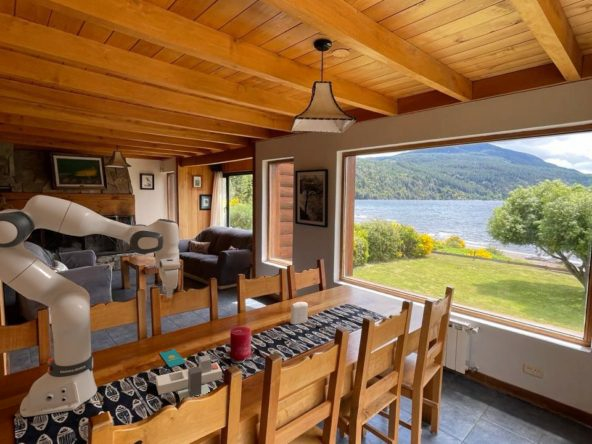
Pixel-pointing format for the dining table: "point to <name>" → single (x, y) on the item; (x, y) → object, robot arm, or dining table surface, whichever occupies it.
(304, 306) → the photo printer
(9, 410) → the dining table surface
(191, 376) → the block
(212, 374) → the power strip
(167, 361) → the teal passport
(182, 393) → the mat
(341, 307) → the dining table surface
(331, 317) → the dining table surface
